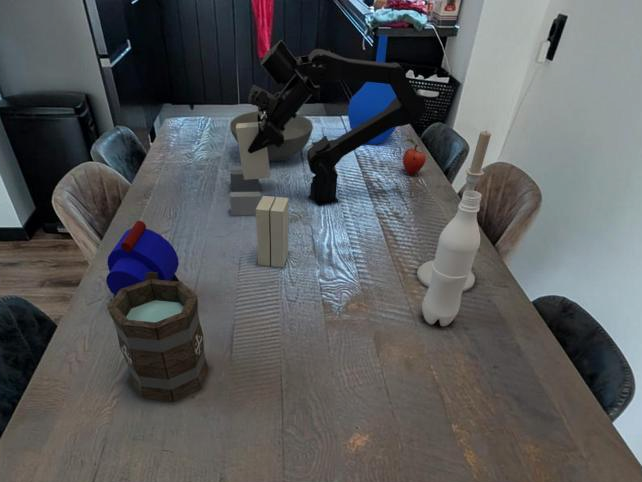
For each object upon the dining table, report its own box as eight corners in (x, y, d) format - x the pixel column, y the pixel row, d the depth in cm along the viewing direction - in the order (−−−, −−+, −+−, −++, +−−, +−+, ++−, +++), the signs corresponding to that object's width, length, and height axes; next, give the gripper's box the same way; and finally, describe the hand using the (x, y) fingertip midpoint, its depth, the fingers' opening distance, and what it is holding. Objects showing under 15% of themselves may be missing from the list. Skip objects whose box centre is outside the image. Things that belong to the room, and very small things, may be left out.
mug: (214, 394, 80) (203, 321, 69) (131, 408, 78) (106, 334, 67) (199, 326, 93) (188, 256, 82) (128, 336, 90) (107, 264, 80)
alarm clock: (186, 287, 102) (174, 219, 92) (162, 319, 94) (146, 249, 83) (133, 279, 104) (116, 211, 93) (106, 310, 96) (83, 240, 85)
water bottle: (415, 309, 99) (445, 185, 81) (448, 308, 99) (485, 185, 81) (424, 330, 94) (458, 203, 76) (459, 329, 95) (501, 203, 76)
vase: (368, 128, 180) (380, 28, 159) (406, 141, 171) (424, 37, 150) (335, 138, 172) (342, 34, 150) (373, 152, 163) (386, 43, 141)
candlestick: (406, 268, 110) (436, 123, 88) (451, 258, 114) (491, 116, 92) (438, 297, 102) (480, 145, 80) (486, 286, 106) (538, 137, 84)
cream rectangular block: (270, 173, 130) (263, 121, 120) (269, 178, 128) (263, 126, 118) (244, 174, 130) (236, 123, 120) (244, 179, 129) (235, 128, 118)
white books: (264, 250, 114) (262, 195, 105) (288, 252, 114) (288, 198, 104) (258, 264, 110) (255, 209, 100) (283, 267, 109) (283, 211, 100)
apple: (416, 168, 153) (422, 134, 146) (426, 176, 149) (433, 141, 142) (394, 170, 152) (400, 136, 144) (404, 178, 147) (410, 143, 140)
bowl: (325, 153, 161) (327, 120, 153) (282, 178, 145) (282, 142, 138) (262, 137, 170) (261, 105, 163) (215, 159, 155) (212, 125, 147)
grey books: (258, 183, 142) (257, 165, 138) (261, 215, 127) (260, 196, 124) (231, 183, 141) (230, 166, 138) (231, 215, 127) (230, 196, 123)
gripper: (265, 63, 118) (224, 114, 126) (268, 82, 106) (224, 137, 113) (296, 99, 125) (256, 146, 132) (303, 121, 112) (258, 171, 119)
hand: (248, 149), depth 124 cm, fingers closed on cream rectangular block, 3 cm apart
